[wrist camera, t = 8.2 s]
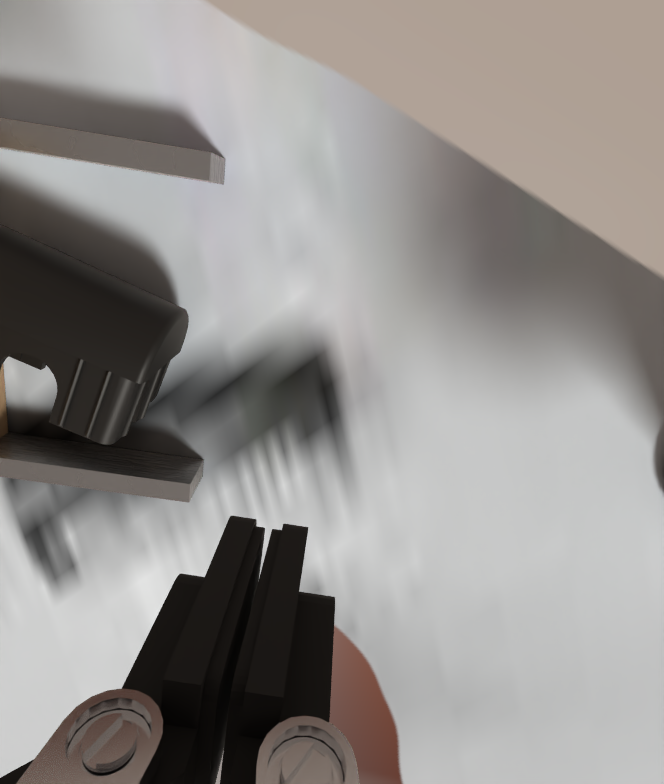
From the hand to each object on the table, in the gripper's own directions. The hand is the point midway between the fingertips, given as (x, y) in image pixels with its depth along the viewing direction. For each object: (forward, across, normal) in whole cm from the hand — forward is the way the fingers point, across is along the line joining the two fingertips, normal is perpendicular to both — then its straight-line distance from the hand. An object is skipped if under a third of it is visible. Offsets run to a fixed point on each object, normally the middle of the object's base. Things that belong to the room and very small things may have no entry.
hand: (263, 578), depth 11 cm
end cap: (+19, +13, 0) cm, 23 cm away
